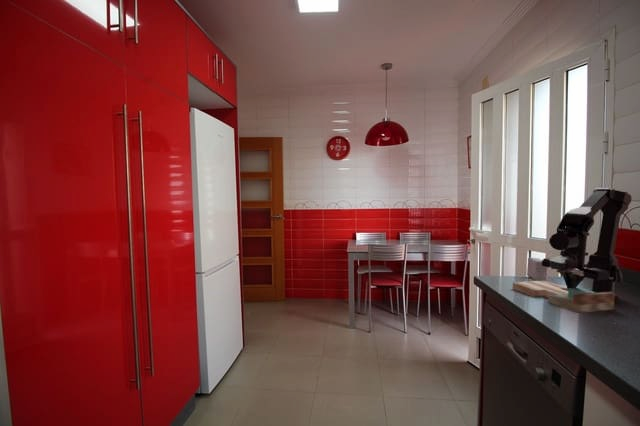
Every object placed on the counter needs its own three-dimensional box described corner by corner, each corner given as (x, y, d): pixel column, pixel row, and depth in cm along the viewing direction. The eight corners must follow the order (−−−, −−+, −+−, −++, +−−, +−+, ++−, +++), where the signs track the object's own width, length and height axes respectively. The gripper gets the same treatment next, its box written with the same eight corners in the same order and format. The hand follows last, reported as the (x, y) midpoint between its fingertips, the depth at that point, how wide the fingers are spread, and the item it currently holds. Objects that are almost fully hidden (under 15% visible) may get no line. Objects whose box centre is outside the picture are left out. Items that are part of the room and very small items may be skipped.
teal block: (579, 296, 105) (580, 287, 105) (595, 301, 100) (595, 292, 100) (567, 296, 104) (568, 288, 103) (583, 302, 99) (584, 293, 99)
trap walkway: (543, 286, 123) (544, 273, 123) (613, 309, 100) (615, 293, 99) (512, 288, 119) (513, 275, 119) (577, 312, 96) (578, 296, 96)
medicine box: (546, 281, 130) (548, 262, 130) (534, 280, 131) (536, 261, 131) (537, 276, 138) (538, 258, 137) (526, 275, 139) (527, 257, 138)
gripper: (531, 243, 111) (528, 284, 112) (587, 255, 93) (582, 303, 94) (554, 243, 114) (551, 283, 115) (613, 254, 96) (608, 301, 97)
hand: (570, 292), depth 105 cm, fingers closed
